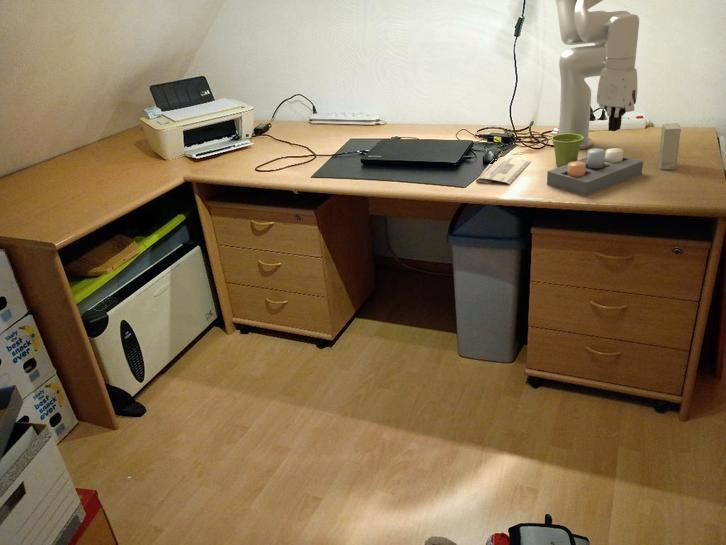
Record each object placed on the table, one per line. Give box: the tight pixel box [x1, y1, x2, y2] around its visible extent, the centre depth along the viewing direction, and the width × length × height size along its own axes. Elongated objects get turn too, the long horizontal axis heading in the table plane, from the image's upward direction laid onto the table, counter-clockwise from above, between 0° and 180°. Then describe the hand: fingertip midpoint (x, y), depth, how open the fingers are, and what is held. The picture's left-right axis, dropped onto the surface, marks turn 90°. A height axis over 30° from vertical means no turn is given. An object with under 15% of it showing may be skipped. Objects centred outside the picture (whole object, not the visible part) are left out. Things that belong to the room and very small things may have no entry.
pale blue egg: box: [586, 148, 606, 168], centre depth 175 cm, size 5×5×4 cm
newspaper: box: [475, 156, 532, 186], centre depth 191 cm, size 23×12×2 cm, turn 150°
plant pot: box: [551, 133, 584, 167], centre depth 190 cm, size 9×9×9 cm
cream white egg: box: [605, 147, 624, 164], centre depth 179 cm, size 5×5×4 cm
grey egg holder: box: [546, 152, 644, 197], centre depth 177 cm, size 14×24×4 cm, turn 122°
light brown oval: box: [567, 160, 586, 178], centre depth 172 cm, size 5×5×4 cm
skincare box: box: [658, 122, 682, 170], centre depth 178 cm, size 6×4×12 cm
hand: (614, 129), depth 175 cm, fingers closed
